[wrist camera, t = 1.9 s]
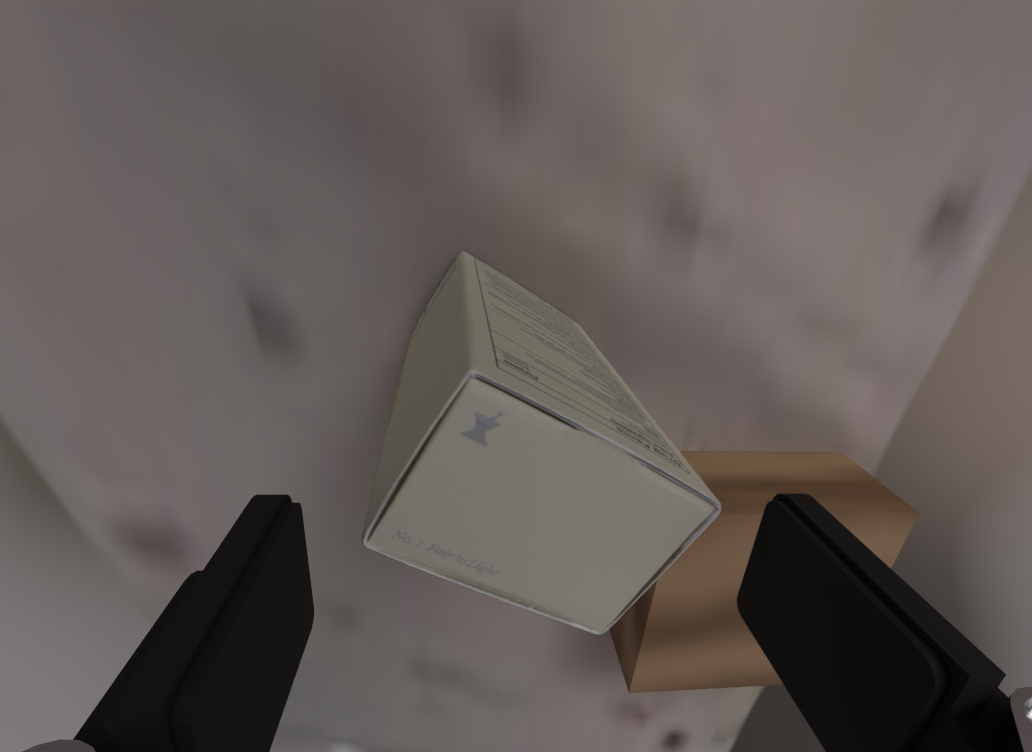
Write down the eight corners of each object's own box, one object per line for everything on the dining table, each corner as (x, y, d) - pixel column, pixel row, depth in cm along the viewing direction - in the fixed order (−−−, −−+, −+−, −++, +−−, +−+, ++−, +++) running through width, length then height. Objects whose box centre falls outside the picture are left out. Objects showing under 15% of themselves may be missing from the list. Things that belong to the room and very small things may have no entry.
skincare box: (408, 334, 20) (338, 546, 9) (463, 242, 19) (460, 357, 8) (532, 403, 22) (599, 648, 11) (590, 324, 21) (733, 511, 10)
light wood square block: (634, 447, 24) (673, 515, 19) (837, 449, 25) (919, 512, 21) (602, 607, 28) (629, 692, 24) (776, 601, 30) (833, 681, 25)
